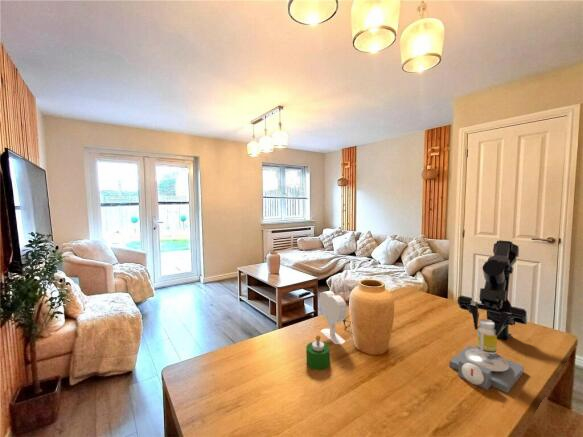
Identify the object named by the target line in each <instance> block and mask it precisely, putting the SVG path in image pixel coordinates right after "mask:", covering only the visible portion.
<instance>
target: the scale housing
mask: <svg viewBox="0 0 583 437" xmlns="http://www.w3.org/2000/svg"><path fill="white" fill-rule="evenodd" d="M468 349H477V346H476V347H475V346H472V345H470V344H469V345H467V347H465V348H463V350H461V351H460V352H458V354H456V355H454V357H452V358H451V359H450V360H449V367H450V368H452V369H454V370H457V371H458V374H457V376H458V377H459V378H462V379H463V380H466V381H468V382H469V383H471V384H473V385H477V386H478V387H481V388H482V389H485V390H487V391H488V390H489V389H490V387H493V388H494V389H497V390H498V391H502V392H503V393H506V394H508V393H509V392H510V391H511V389H512V388H513V387H514V385H515V384H516V383H517V382H518V380H519V378H520V377H521V376H522V375H523V374H524V372H525V365H523V364H520V363H517V362H514V361H511V360H509V359H507V358H505V359H506V360H507V361H508V363H509V370H508V371H506V372H492V370H490V369H488V368H485V367H483V366H481V365H478V364H476V363H474V362H471V361H469V360H467V359H466V358H465V351H466V350H468Z"/></svg>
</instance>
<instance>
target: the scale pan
mask: <svg viewBox="0 0 583 437" xmlns="http://www.w3.org/2000/svg"><path fill="white" fill-rule="evenodd" d="M465 358H466V359H467V360H469V361H471V362H474V363H476V364H478V365H481V366H483V367H485V368H488V369H490V370H492V372H506V371H508V370H509V363H508V361H507V360H508V359H507V358H505V357H503V356H501V355H500V354H498V353H497V352H496V353H495V354H486V353H483V352H481V351H479V350H478V349H468V350H466V351H465ZM506 359H507V360H506Z"/></svg>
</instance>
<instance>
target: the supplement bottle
mask: <svg viewBox="0 0 583 437" xmlns="http://www.w3.org/2000/svg"><path fill="white" fill-rule="evenodd" d="M494 327H495V323H494V322H493V321H492V320H487V318H486V319H485V318H482V319H479V325H478V327H477V330H476V348H477V349H478V350H479V351H481V352H483V353H486V354H495V353H496V354H497V349H498V348H497V347H498V346H497V344H498V343H497V342H498V337H497V336H496V330H495V329H494Z"/></svg>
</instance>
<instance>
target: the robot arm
mask: <svg viewBox="0 0 583 437" xmlns="http://www.w3.org/2000/svg"><path fill="white" fill-rule="evenodd" d="M519 247H520V246H518V245H517V244H514V243H513V241H510V240H503V239H502V240H500V239H499V240H497V241H496V243H494V244H493V248H492V253H493V255H492V256H489V257H488V258H487V260H486V261H485V262H484V264H483V265H482V272H483V277H484V281H485V283H484V288H483V287H482V288H480V290H479V302H477V301H475V300H473V298H472V297H470V296H465V295H461V294H460V295H459V296H458V297H457V299H456V300H457V301H456V302H457V303H458V306H459V308H460V309H461V310H465V311H468V313H470V314H471V315H472V320H473V326H474V330H475V331H477V327H478V326H479V325H478V324H479V318H480V313H479V310H483V311H485V312H486V320H490V321H493V322H494V323H495V327H494V329H495V330H496V336H497V339H498V338H499V339H501V340H504V341H508V340H509V339H510V338H511V337H512V334H511V333H509V329H510V326H512V327H513V325H516V323H517V324H521V325H527V324H528V314H527V310H526V309H525V308H521V307H517V306H512V304H511V302H510V301H509V291H510V279H511V274H513V272H514V268H513V265H515V263H516V262H517V258H518V257H519V256H520V248H519Z"/></svg>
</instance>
